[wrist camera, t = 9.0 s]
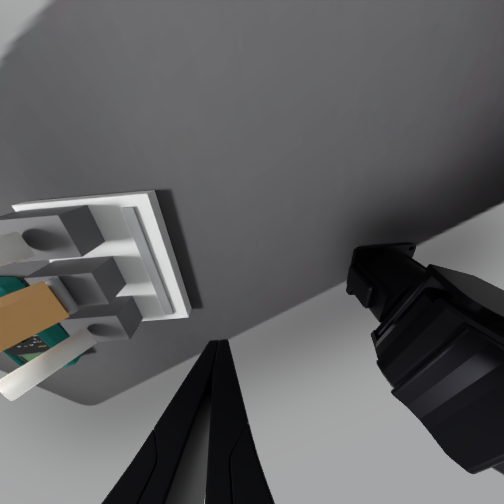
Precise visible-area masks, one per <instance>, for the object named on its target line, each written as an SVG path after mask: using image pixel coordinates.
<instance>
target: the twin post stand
mask: <svg viewBox="0 0 504 504" xmlns="http://www.w3.org/2000/svg"><path fill="white" fill-rule="evenodd" d="M11 206H12V207H13V208H14V210H15V211H16V212H14V213H10V214H6V215H3V216H0V267H1V266H4V265H7V264H10V263H16V262H28V261H40V260H49V261H50V264H48V265H46V266H44V267H43V268H41V269H39V270H38V271H36V272H34V273H32V274H31V275H29V276H27V277H26V278H24V279H25V280H26V281H27V283H28V284H29V285H30V286H31V285H34V284H36V283H39V282H41V281H44V280H45V281H46V280H48V279H50V278H52V277H59V279H60V280H61V282H62V283H63V285H64V286H65V287H66V289H67V290H68V292H69V293H70V295H71V296H72V298H73V299H74V300H75V302H76V303H77V305H78V306H79V308H80V309H79V310H78V311H77V312H76V313H74V314H69V316H70V317H68V318H66V319H64V320H62V321H60V322H59V323H60V324H61V325H62V326H63V328H64V329H65V330H66V331H67V333H68V334H69V335H70V337H68V338H67V339H65V340H64V341H62V342H60V343H59V344H57V345H55V346H54V347H52V348H50V349H49V350H47V351H46V352H44V353H42V354H41V355H39V356H37V357H36V358H34V359H32V360H31V361H29V362H28V363H26V364H24V365H23V366H21V367H19V368H18V369H16V370H15V371H13V372H11V373H10V374H8V375H6V376H5V377H3V378H1V379H0V392H1V393H2V394H3V395H4V396H5V397H6V398H7V399H8V400H11V401H13V400H15V399H16V398H18V397H19V396H21V395H22V394H24V393H25V392H26V391H28V390H29V389H31V388H32V387H34V386H35V385H37V384H38V383H40V382H41V381H43V380H44V379H45V378H47V377H48V376H50V375H51V374H53V373H54V372H56V371H57V370H59V369H60V368H61V367H63V366H64V365H66V364H67V363H69V362H70V361H72V360H73V359H75V358H76V357H77V356H79V355H80V354H82V353H83V352H85V351H86V350H88V349H89V348H91V347H92V346H93V345H95V344H96V343H97V342H102V341H115V340H129V339H131V337H132V335H133V334H134V332H135V330H136V329H137V327H138V326H139V324H140V322H141V321H149V320H162V319H175V318H188V317H189V315H190V312H191V309H192V308H191V305H190V302H189V299H188V296H187V292H186V289H185V286H184V283H183V280H182V276H181V273H180V270H179V267H178V264H177V260H176V257H175V254H174V251H173V248H172V245H171V241H170V238H169V235H168V232H167V229H166V225H165V222H164V219H163V216H162V213H161V209H160V206H159V203H158V200H157V197H156V194H155V190H149V191H138V192H127V193H115V194H104V195H93V196H82V197H70V198H59V199H48V200H37V201H27V202H23V203H19V204H15V205H11Z"/></svg>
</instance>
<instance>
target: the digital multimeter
mask: <svg viewBox="0 0 504 504" xmlns="http://www.w3.org/2000/svg"><path fill="white" fill-rule="evenodd" d="M23 288H26V286H25V285H24V284H23V283H22V282H21V281H20V279H18V278H16V277H3V276H0V297H3V296H5V295H8V294H10V293H13V292H16V291H18V290H21V289H23ZM68 337H70V336H69V335H68V334H67V333H66V332H65V331H64V330H63V329H62V327H61V326H60V325H59V324H58V323H56V324H54V325H53V326H51V327H49V328H47V329H45V330H43V331H41V332H39V333H37V334H35V335H33V336H31V337H29V338H27V339H25V340H23V341H21V342H19V343H17V344H15V345H13V346H11V347H10V348H8V349H6V350H4V351H3V352H5V353H6V354H7V355H8V356H9V357H10V358H12V359H13V360H14V361H15V362H16V363H17V364H18V365H19V366H23V365H24V364H26V363H28V362H29V361H31V360H32V359H34V358H36V357H37V356H39V355H41V354H42V353H44V352H46V351H47V350H49V349H50V348H52V347H54V346H55V345H57V344H59V343H60V342H62V341H64V340H65V339H67V338H68ZM83 353H84V352H83ZM83 353H82V354H80V355H79V356H77V357H76V358H75V359H73V360H72V361H70V362H69V363H67V364H66V365H64V366H63V367H66V366H70V365H74V364H75V363H76V362H77V361H78V360H79V358H80V357H81V356H82V355H83Z"/></svg>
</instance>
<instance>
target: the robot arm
mask: <svg viewBox="0 0 504 504" xmlns="http://www.w3.org/2000/svg"><path fill="white" fill-rule="evenodd" d="M415 249H416V245H414V244H412V243H401V244H389V245H377V246H365V247H357V248H356V249H355V250H354V252H353V258H352V263H351V266H350V268H349V273H348V278H347V288H346V292H347V293H348V294H349V295H355V296H356V297H357V298H358V300H359V301H360V303H361V304H362V305H363V306H364V307H365V308H369V309H370V311H371V312H372V313H373V314H374V316H375V317H376V318H377V320H378V321H379V322H380V323H381V324H380V326H378V328H377V329H376V330H374V331H373V332H372V333H371V337H372V340H373V343H374V346H375V350H376V354H377V357H378V360H377V365H378V367H379V369H380V370H381V372H382V374H383V375H384V377H385V378H386V379H387V381H388V382H389V383H390V385H391V386H392V387H393V388H394V389H393V390H392V391H391V393H392V394H393V396H395V397H396V398H397V399H398V400H399V401H401V402H402V403H403V404H404V405H405V406H407V407H408V408H409V409H410V411H411V412H412V413H413V414H414V415H415V416H416V417H417V418H418V419H419V420H420V421H421V422H422V423H423V425H424V426H425V427H426V428H427V430H428V431H429V432H430V434H432V436H433V438H434V439H435V440H436V441H437V443H438V444H439V445H440V447H441V448H442V449H443V451H444V452H445V453H446V454H447V455H448V456H449V457H450V458H451V459H453V460H454V461H455V462H456V463H457V464H459V465H460V466H461V467H462V468H464V469H465V470H466V471H467V472H469V473H471V474H476V473H478V472H481V471H484V470H486V469H489V468H493V469H495V470H496V471H498V472H500V473H502V474H503V475H504V290H502V289H500V288H498V287H495V286H494V285H492V284H490V283H488V282H485V281H483V280H482V279H479V278H478V277H475V276H473V275H469V274H466V273H462V272H458V271H454V270H451V269H447V268H443V267H439V266H436V265H432V264H429V265H428V267H427V268H426V267H424V266H423V265H421V264H420V263H418V262H417V261H415V260H414V259H412V257H413V255H414V252H415ZM359 251H360V252H359ZM358 252H359V253H358ZM351 290H352V291H351ZM205 492H206V496H205ZM204 499H205V504H275V503H274V500H273V497H272V495H271V492H270V489H269V487H268V484H267V481H266V478H265V475H264V472H263V470H262V467H261V464H260V461H259V458H258V455H257V451H256V448H255V444H254V440H253V437H252V433H251V429H250V425H249V422H248V418H247V414H246V410H245V405H244V402H243V397H242V393H241V389H240V385H239V382H238V378H237V374H236V370H235V366H234V362H233V358H232V354H231V350H230V346H229V342H228V339H222V340H211V341H209V342H208V344H207V345H206V347H205V349H204V350H203V352H202V353H201V355H200V356H199V358H198V360H197V361H196V363H195V364H194V366H193V367H192V369H191V371H190V372H189V374H188V375H187V377H186V378H185V380H184V381H183V383H182V385H181V386H180V388H179V389H178V391H177V392H176V394H175V396H174V397H173V399H172V400H171V402H170V403H169V405H168V407H167V408H166V410H165V411H164V413H163V415H162V416H161V418H160V419H159V421H158V422H157V424H156V425H155V427H154V430H152V432H151V433H150V435H149V436H148V438H147V439H146V441H145V443H144V444H143V446H142V447H141V449H140V450H139V452H138V453H137V455H136V456H135V458H134V459H133V461H132V462H131V464H130V465H129V467H128V468H127V469H126V471H125V472H124V473H123V475H122V476H121V478H120V479H119V481H118V482H117V483H116V485H115V486H114V487H113V489H112V490H111V491H110V493H109V494H108V495H107V497H106V498H105V499H104V501H103V502H102V504H204Z"/></svg>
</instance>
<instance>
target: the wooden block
mask: <svg viewBox="0 0 504 504" xmlns="http://www.w3.org/2000/svg"><path fill="white" fill-rule="evenodd" d="M79 309H80V308H79V306H78V305H77V303H76V302H75V300H74V299H73V298H72V296H71V295H70V293H69V292H68V290H67V289H66V287H65V286H64V285H63V283H62V282H61V280H60V279H59V277H52V278H50V279H48V280H46V281H45V280H44V281H41V282H39V283H36V284H34V285H31V286H29V287H26V288H23V289H21V290H18V291H16V292H13V293H10V294H8V295H5V296H3V297H0V352H2V351H4V350H6V349H8V348H10V347H11V346H13V345H15V344H17V343H19V342H21V341H23V340H25V339H27V338H29V337H31V336H33V335H35V334H37V333H39V332H41V331H43V330H45V329H47V328H49V327H51V326H53V325H54V324H56V323H58V322H60V321H62V320H64V319H66V318H68V317H70V316H69V314H74V313H76V312H77V311H78V310H79Z"/></svg>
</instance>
